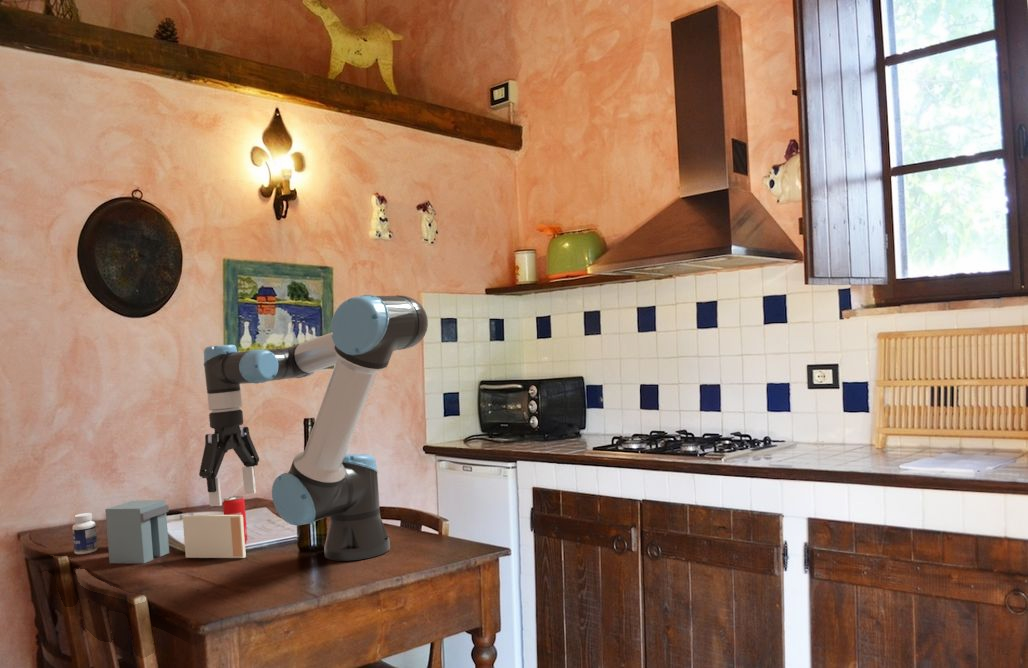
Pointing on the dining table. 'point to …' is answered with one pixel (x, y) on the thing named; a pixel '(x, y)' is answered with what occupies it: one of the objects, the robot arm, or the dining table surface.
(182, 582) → the dining table surface
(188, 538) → the cream panel tan stripe
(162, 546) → the block
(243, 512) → the beverage can
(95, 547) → the pill bottle
